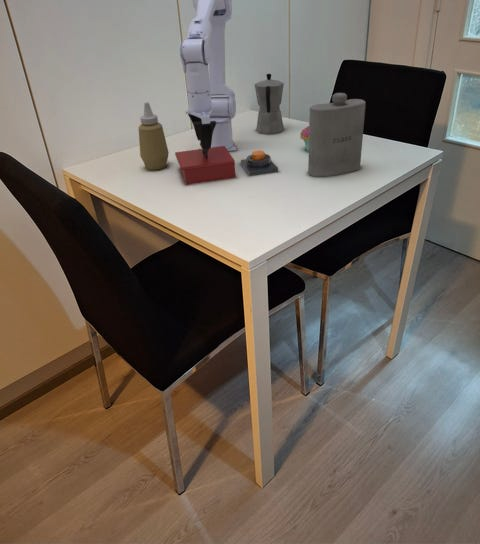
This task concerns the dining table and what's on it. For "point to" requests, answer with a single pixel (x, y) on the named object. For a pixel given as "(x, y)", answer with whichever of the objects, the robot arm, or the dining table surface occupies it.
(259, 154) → the power button
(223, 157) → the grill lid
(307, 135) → the cupcake
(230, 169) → the maroon rectangular box
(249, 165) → the switch box
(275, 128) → the coffeepot
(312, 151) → the flask
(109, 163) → the dining table surface
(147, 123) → the squeeze bottle
